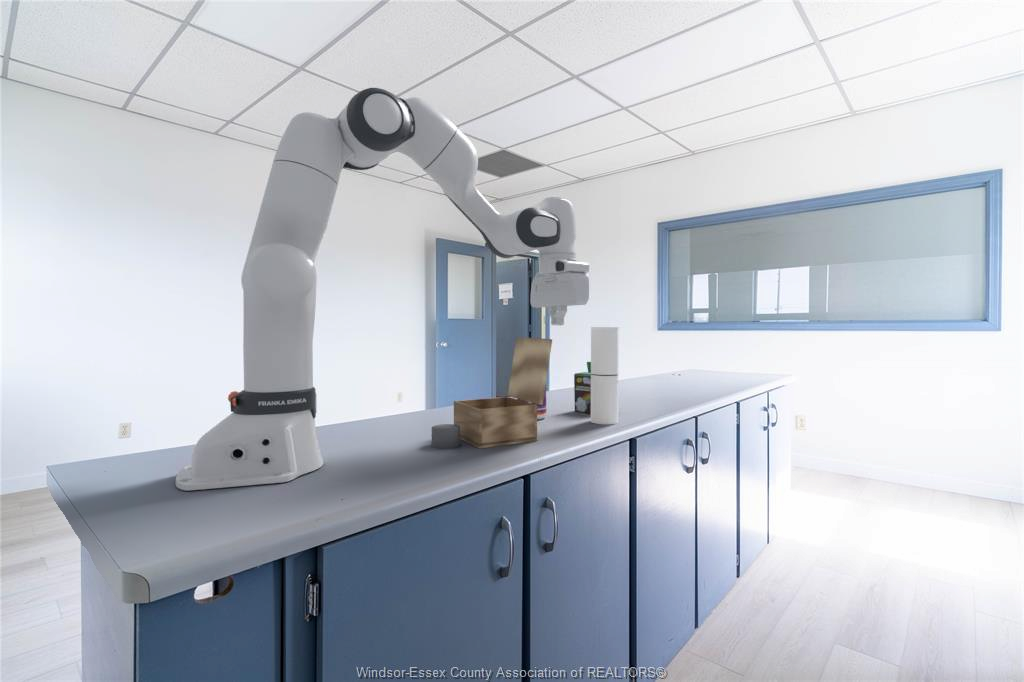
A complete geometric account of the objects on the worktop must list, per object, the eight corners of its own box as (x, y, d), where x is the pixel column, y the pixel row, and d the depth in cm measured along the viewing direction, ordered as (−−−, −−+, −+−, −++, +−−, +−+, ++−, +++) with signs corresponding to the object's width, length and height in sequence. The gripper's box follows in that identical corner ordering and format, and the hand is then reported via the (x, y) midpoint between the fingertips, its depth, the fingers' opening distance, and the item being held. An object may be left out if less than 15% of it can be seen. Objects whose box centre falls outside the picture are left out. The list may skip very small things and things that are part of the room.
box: (479, 448, 102) (479, 409, 101) (453, 435, 114) (453, 400, 114) (537, 440, 108) (537, 404, 108) (507, 429, 121) (507, 396, 120)
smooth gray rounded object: (437, 450, 100) (437, 431, 100) (427, 444, 106) (427, 425, 106) (464, 447, 103) (464, 428, 103) (453, 441, 109) (453, 423, 109)
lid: (548, 338, 109) (552, 339, 109) (516, 337, 122) (519, 338, 122) (538, 404, 108) (542, 404, 108) (507, 396, 121) (511, 396, 121)
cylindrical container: (585, 421, 130) (585, 327, 130) (601, 418, 135) (602, 327, 134) (607, 425, 125) (607, 327, 124) (623, 421, 130) (624, 327, 129)
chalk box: (617, 411, 146) (617, 361, 145) (597, 415, 140) (598, 363, 139) (592, 407, 153) (592, 360, 152) (573, 411, 147) (573, 361, 146)
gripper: (524, 271, 126) (524, 325, 126) (571, 262, 108) (571, 325, 108) (545, 272, 129) (545, 325, 129) (594, 263, 111) (594, 325, 111)
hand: (557, 325), depth 119 cm, fingers closed
